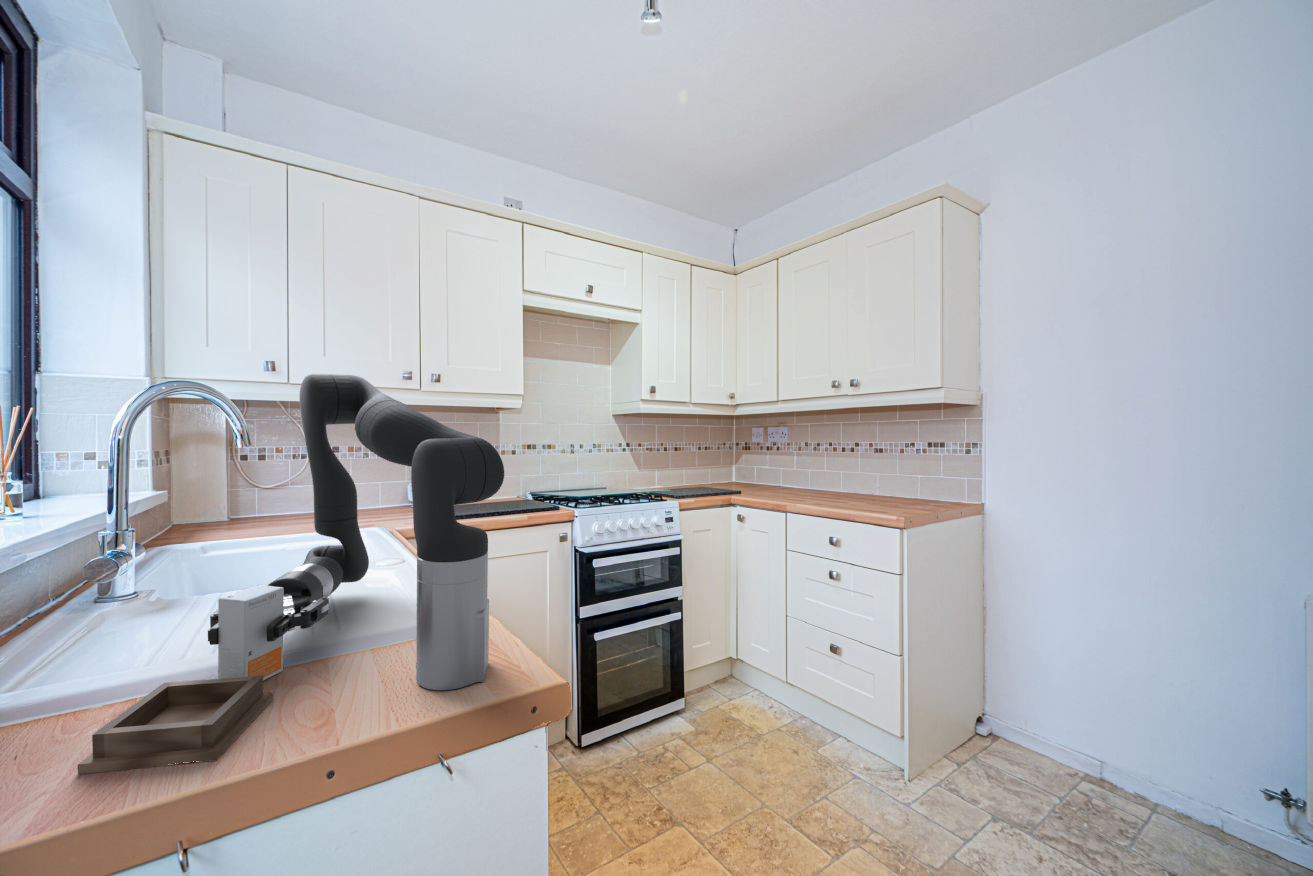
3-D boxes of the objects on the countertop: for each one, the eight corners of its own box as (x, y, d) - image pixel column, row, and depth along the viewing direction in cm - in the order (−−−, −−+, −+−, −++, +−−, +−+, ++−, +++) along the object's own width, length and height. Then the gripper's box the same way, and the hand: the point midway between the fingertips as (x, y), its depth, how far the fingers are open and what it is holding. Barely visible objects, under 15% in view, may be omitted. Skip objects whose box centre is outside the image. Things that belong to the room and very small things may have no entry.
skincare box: (244, 692, 69) (243, 601, 68) (217, 688, 70) (216, 598, 69) (285, 670, 75) (285, 586, 74) (260, 667, 76) (259, 583, 75)
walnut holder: (272, 699, 67) (272, 672, 67) (216, 760, 56) (216, 727, 56) (161, 708, 65) (160, 680, 65) (77, 774, 53) (76, 740, 53)
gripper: (247, 571, 84) (176, 610, 68) (347, 568, 87) (303, 605, 71) (248, 618, 84) (177, 668, 68) (348, 613, 87) (303, 660, 71)
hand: (241, 635), depth 69 cm, fingers closed on skincare box, 6 cm apart
